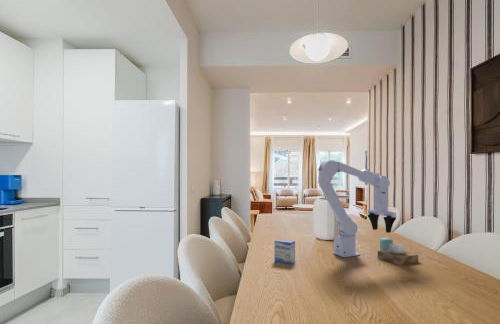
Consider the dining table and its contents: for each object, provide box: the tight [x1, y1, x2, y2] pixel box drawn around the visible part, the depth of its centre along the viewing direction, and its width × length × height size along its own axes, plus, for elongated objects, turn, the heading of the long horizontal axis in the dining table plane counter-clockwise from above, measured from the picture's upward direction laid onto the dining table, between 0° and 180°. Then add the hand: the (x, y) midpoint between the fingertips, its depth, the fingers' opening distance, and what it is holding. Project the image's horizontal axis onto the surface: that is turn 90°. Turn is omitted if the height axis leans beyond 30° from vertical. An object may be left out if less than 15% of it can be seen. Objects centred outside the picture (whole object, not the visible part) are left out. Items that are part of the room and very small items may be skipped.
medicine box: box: [273, 239, 296, 265], centre depth 125 cm, size 8×4×9 cm, turn 62°
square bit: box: [389, 243, 405, 255], centre depth 126 cm, size 4×4×6 cm
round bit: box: [379, 237, 394, 251], centre depth 140 cm, size 6×6×6 cm
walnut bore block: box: [377, 250, 419, 266], centre depth 126 cm, size 11×11×3 cm
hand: (381, 231), depth 137 cm, fingers open, 7 cm apart
